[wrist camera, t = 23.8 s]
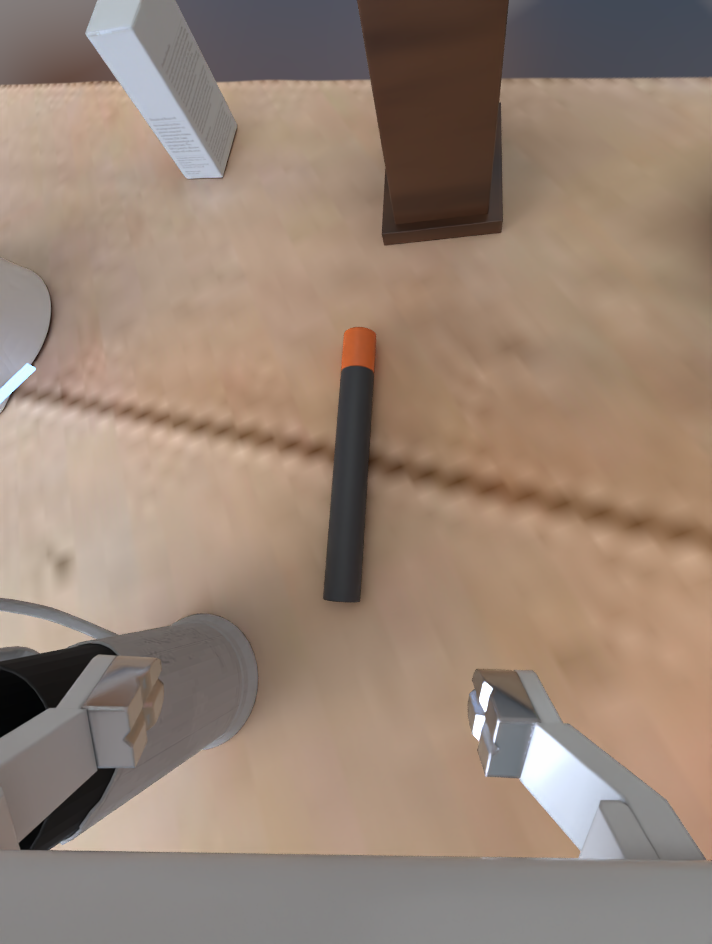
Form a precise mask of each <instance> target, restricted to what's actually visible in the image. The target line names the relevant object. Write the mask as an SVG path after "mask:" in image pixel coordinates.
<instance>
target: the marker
mask: <svg viewBox="0 0 712 944" xmlns="http://www.w3.org/2000/svg"><path fill="white" fill-rule="evenodd" d="M375 348H376V334H375V333H374V332H373V331H372V330H370V329H368V328H363V327H354V328H350V329H348V330H346V331H345V333H344V341H343V354H342V367H341V379H340V392H339V405H338V417H337V430H336V443H335V455H334V468H333V481H332V494H331V506H330V519H329V532H328V544H327V557H326V570H325V582H324V595H323V599H324V600H327V601H335V602H360V593H361V576H362V560H363V544H364V528H365V511H366V495H367V479H368V462H369V446H370V430H371V414H372V397H373V381H374V365H375Z"/></svg>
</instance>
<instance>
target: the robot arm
mask: <svg viewBox="0 0 712 944" xmlns="http://www.w3.org/2000/svg"><path fill="white" fill-rule="evenodd" d="M50 317H51V301H50V296H49V292H48V289H47V287H46V285H45V283H44V282H43V280H42V279H41V278H40V277H39V276H38V275H37V274H36V273H35V272H33V271H31V270H29V269H27V268H25V267H22V266H19V265H17V264H14V263H12V262H10V261H8V260H5V259H3V258H1V257H0V413H1V411H2V410H3V409H4V407H5V405H6V403H7V401H8V399H9V397H10V394H11V393H12V392H13V391H14V390H15V389H16V388H17V387H18V386H19V385H20V384H21V383H22V382H23V381H24V380H25V379H26V378H27V377H28V376H29V375H30V374H31V373H32V372H34V371H35V370H36V369H35V367H33V366H31V364H32V362H33V361H34V359H35V358H36V356H37V354H38V353H39V351H40V349H41V347H42V345H43V343H44V340H45V338H46V335H47V332H48V328H49V324H50ZM161 671H162V665H161V659H159V658H155V657H139V656H122V655H119V656H114V655H100V654H99V655H97V656H95V657H94V658H93V659H92V660H91V661H90V662H89V664H88V665H87V666H86V668H85V669H84V671H83V672H82V673H81V675H80V676H79V677H78V679H77V680H76V681H75V683H74V684H73V685H72V687H71V688H70V689H69V691H68V692H67V694H66V695H65V696H64V698H63V699H62V700H61V702H60V703H59V704H58V706H57V707H56V708H49V709H47V710H45V711H44V712H42V713H40V714H39V715H37V716H35V717H34V718H32V719H31V720H29V721H27V722H26V723H24V724H22V725H21V726H19V727H17V728H16V729H14V730H13V731H11V732H9V733H8V734H6V735H4V736H3V737H1V738H0V944H712V860H706V858H705V857H704V855H703V854H702V852H701V851H700V849H699V848H698V846H697V845H696V843H695V842H694V840H693V839H692V837H691V836H690V834H689V833H688V831H687V830H686V828H685V827H684V825H683V824H682V822H681V821H680V819H679V818H678V816H677V815H676V813H675V812H674V810H673V809H672V807H671V806H670V804H669V803H668V801H667V800H666V799H665V798H663V797H662V796H661V795H660V794H658V793H657V792H656V791H655V790H653V789H652V788H651V787H649V786H648V785H647V784H646V783H644V782H643V781H642V780H640V779H639V778H638V777H637V776H635V775H634V774H633V773H631V772H630V771H629V770H628V769H626V768H625V767H624V766H623V765H621V764H620V763H619V762H617V761H616V760H615V759H614V758H612V757H611V756H610V755H608V754H607V753H606V752H605V751H603V750H602V749H601V748H599V747H598V746H597V745H596V744H594V743H593V742H592V741H591V740H589V739H588V738H587V737H585V736H584V735H583V734H582V733H580V732H579V731H578V730H576V729H575V728H574V727H573V726H571V725H570V724H565V723H563V722H562V720H561V718H560V716H559V715H558V713H557V711H556V709H555V707H554V705H553V704H552V702H551V700H550V698H549V696H548V694H547V693H546V691H545V689H544V687H543V685H542V684H541V682H540V680H539V678H538V676H537V674H536V673H535V672H534V671H533V670H496V669H476V670H475V672H474V674H473V678H472V682H473V685H474V688H475V689H474V690H473V691H472V692H471V693H470V694H469V699H468V719H469V725H470V728H471V731H472V734H473V735H474V736H475V737H476V738H477V739H478V740H479V745H478V749H477V751H478V754H479V757H480V761H481V764H482V767H483V770H484V773H485V776H486V777H504V778H520V781H521V782H522V783H523V785H524V786H525V787H526V788H527V789H528V790H529V792H530V793H531V794H532V795H533V796H534V797H535V799H536V800H537V801H538V802H539V803H540V804H541V806H542V807H543V808H544V809H545V810H546V811H547V812H548V814H549V815H550V816H551V817H552V818H553V819H554V821H555V822H556V823H557V824H558V825H559V826H560V828H561V829H562V830H563V831H564V832H565V833H566V835H567V836H568V837H569V838H570V839H571V840H572V841H573V843H574V844H575V845H576V846H577V847H578V848H579V850H580V851H581V853H580V855H579V858H528V857H462V856H386V855H319V854H257V853H192V852H126V851H60V850H21V849H20V846H19V842H20V841H21V840H22V839H24V838H25V837H26V836H27V835H28V834H29V833H30V832H31V831H32V830H33V829H34V828H36V827H37V826H38V825H39V824H40V823H41V822H42V821H43V820H44V819H45V818H46V817H47V816H49V815H50V814H51V813H52V812H53V811H54V810H55V809H56V808H57V807H58V806H59V805H60V804H62V803H63V802H64V801H65V800H66V799H67V798H68V797H69V796H70V795H71V794H72V793H74V792H75V791H76V790H77V789H78V788H79V787H80V786H81V785H82V784H83V783H84V782H85V781H87V780H88V779H89V778H90V777H91V776H92V775H93V774H94V773H95V772H96V771H97V768H135V767H136V765H137V763H138V761H139V759H140V757H141V755H142V752H143V750H144V748H145V746H146V744H147V742H148V740H147V731H148V730H149V729H150V728H152V727H153V726H154V725H155V724H156V722H157V720H158V718H159V715H160V713H161V709H162V705H163V701H164V683H163V682H162V681H161V680H160V679H159V678H158V677H159V675H160V673H161Z"/></svg>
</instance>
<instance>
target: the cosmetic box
mask: <svg viewBox="0 0 712 944" xmlns="http://www.w3.org/2000/svg"><path fill="white" fill-rule="evenodd" d="M86 36H87V37H88V38H89V40H90V41H91V43H92V44H93V46H94V47H95V48H96V50H97V51H98V53H99V54H100V56H101V57H102V58H103V60H104V61H105V63H106V64H107V66H108V67H109V68H110V70H111V71H112V73H113V74H114V76H115V77H116V79H117V80H118V82H119V83H120V84H121V86H122V87H123V89H124V90H125V92H126V93H127V94H128V96H129V97H130V99H131V100H132V102H133V103H134V104H135V106H136V107H137V109H138V110H139V112H140V113H141V115H142V116H143V117H144V119H145V120H146V122H147V123H148V125H149V126H150V127H151V129H152V130H153V132H154V133H155V135H156V136H157V137H158V139H159V140H160V142H161V143H162V145H163V146H164V148H165V149H166V150H167V152H168V153H169V155H170V156H171V158H172V159H173V160H174V162H175V163H176V165H177V166H178V168H179V169H180V170H181V172H182V173H183V175H184V176H185V177H186V178H187V179H193V178H219V177H223V175H224V171H225V167H226V163H227V160H228V157H229V153H230V149H231V146H232V142H233V139H234V135H235V132H236V129H237V123H236V121H235V119H234V117H233V115H232V113H231V111H230V109H229V107H228V105H227V103H226V101H225V99H224V97H223V95H222V93H221V91H220V89H219V87H218V85H217V83H216V81H215V79H214V78H213V75H212V73H211V71H210V69H209V67H208V65H207V63H206V61H205V59H204V57H203V55H202V53H201V51H200V49H199V47H198V45H197V43H196V41H195V39H194V37H193V35H192V33H191V31H190V29H189V27H188V25H187V23H186V21H185V19H184V17H183V15H182V13H181V11H180V9H179V7H178V5H177V3H176V1H175V0H98V1H97V3H96V6H95V9H94V11H93V14H92V17H91V19H90V22H89V25H88V27H87V30H86Z"/></svg>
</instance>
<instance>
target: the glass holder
mask: <svg viewBox="0 0 712 944" xmlns="http://www.w3.org/2000/svg"><path fill="white" fill-rule="evenodd" d="M0 611H6V612H12V613H17V614H23V615H29V616H33V617H37V618H42V619H46V620H49V621H52V622H55V623H58V624H61V625H63V626H66V627H69V628H71V629H74V630H77V631H79V632H82V633H84V634H86V635H89V636H91V637H93V638H96V639H95V640H90V641H84V642H80V643H77V644H74V645H72V646H69V647H68V648H66V649H62V650H57V651H51V652H46V653H41V654H40V653H38V652H37V651H35V650H33V649H30V648H27V647H19V646H17V647H5V648H0V738H1V737H3V736H4V735H6V734H8V733H9V732H11V731H13V730H14V729H16V728H17V727H19V726H21V725H22V724H24V723H26V722H27V721H29V720H31V719H32V718H34V717H35V716H37V715H39V714H40V713H42V712H44V711H45V710H47V709H49V708H56V707H57V706H58V704H59V703H60V702H61V700H62V699H63V698H64V696H65V695H66V694H67V692H68V691H69V689H70V688H71V687H72V685H73V684H74V683H75V681H76V680H77V679H78V677H79V676H80V675H81V673H82V672H83V671H84V669H85V668H86V666H87V665H88V664H89V662H90V661H91V660H92V659H93V658H94V657H95V656H97V655H99V654H100V655H114V656H119V655H122V656H139V657H155V658H159V659H161V665H162V671H161V673H160V675H159V677H158V678H159V679H160V680H161V681H162V682H163V683H164V701H163V705H162V709H161V713H160V715H159V718H158V720H157V722H156V724H155V725H154V726H153V727H152V728H150V729H149V730H148V731H147V740H148V742H147V744H146V746H145V748H144V750H143V752H142V755H141V757H140V759H139V761H138V763H137V765H136V767H135V768H97V771H96V772H95V773H94V774H93V775H92V776H91V777H90V778H89V779H88V780H87V781H85V782H84V783H83V784H82V785H81V786H80V787H79V788H78V789H77V790H76V791H75V792H74V793H72V794H71V795H70V796H69V797H68V798H67V799H66V800H65V801H64V802H63V803H62V804H60V805H59V806H58V807H57V808H56V809H55V810H54V811H53V812H52V813H51V814H50V815H49V816H47V817H46V818H45V819H44V820H43V821H42V822H41V823H40V824H39V825H38V826H37V827H36V828H34V829H33V830H32V831H31V832H30V833H29V834H28V835H27V836H26V837H25V838H24V839H22V840H21V841H20V842H19V846H20V849H21V850H50V849H51V848H53V847H54V846H56V845H57V844H59V843H61V844H62V845H63V844H65V843H67V842H69V841H71V840H73V839H74V838H75V837H77V836H78V835H80V834H81V833H83V832H84V831H86V830H87V829H88V828H90V827H91V826H93V825H94V824H96V823H97V822H99V821H100V820H101V819H103V818H104V817H106V816H107V815H109V814H110V813H111V812H113V811H114V810H116V809H117V808H119V807H120V806H122V805H123V804H124V803H126V802H127V801H129V800H130V799H132V798H133V797H134V796H136V795H137V794H139V793H140V792H142V791H143V790H145V789H146V788H147V787H149V786H150V785H152V784H153V783H155V782H156V781H158V780H159V779H160V778H162V777H163V776H165V775H166V774H168V773H169V772H170V771H172V770H173V769H175V768H176V767H178V766H179V765H181V764H182V763H183V762H185V761H186V760H188V759H189V758H191V757H192V756H194V755H195V754H196V753H198V752H199V751H201V750H205V749H210V748H213V747H216V746H219V745H221V744H222V743H224V742H226V741H228V740H229V739H230V738H231V737H233V736H234V735H235V734H236V733H237V732H238V731H239V730H240V729H241V727H242V726H243V725H244V724H245V722H246V720H247V718H248V717H249V715H250V713H251V711H252V708H253V705H254V703H255V699H256V694H257V687H258V671H257V664H256V659H255V655H254V653H253V650H252V648H251V645H250V643H249V642H248V640H247V639H246V637H245V636H244V634H243V633H242V632H241V631H240V630H239V629H238V628H237V627H236V626H235V625H234V624H232V623H231V622H230V621H228V620H226V619H224V618H222V617H220V616H216V615H212V614H197V615H191V616H188V617H186V618H183V619H181V620H179V621H177V622H176V623H174V624H172V625H171V626H167V627H161V628H156V629H150V630H145V631H139V632H134V633H128V634H123V635H118V634H116V633H113V632H111V631H109V630H106V629H104V628H102V627H99V626H97V625H95V624H93V623H90V622H88V621H85V620H83V619H80V618H78V617H75V616H73V615H70V614H68V613H65V612H63V611H60V610H57V609H54V608H51V607H47V606H43V605H39V604H34V603H29V602H24V601H18V600H13V599H5V598H0Z"/></svg>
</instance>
